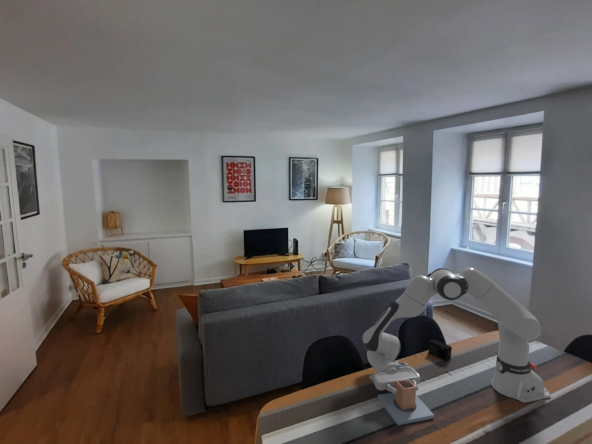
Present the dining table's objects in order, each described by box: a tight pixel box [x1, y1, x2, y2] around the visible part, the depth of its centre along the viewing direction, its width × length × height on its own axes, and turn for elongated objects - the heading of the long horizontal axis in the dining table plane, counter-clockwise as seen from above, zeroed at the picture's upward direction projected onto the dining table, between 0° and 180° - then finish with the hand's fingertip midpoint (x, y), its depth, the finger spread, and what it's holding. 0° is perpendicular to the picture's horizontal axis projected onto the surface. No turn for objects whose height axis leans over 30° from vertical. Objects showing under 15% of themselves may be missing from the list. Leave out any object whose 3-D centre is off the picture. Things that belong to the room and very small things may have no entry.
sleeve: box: [395, 379, 417, 410], centre depth 135 cm, size 6×6×9 cm
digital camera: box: [427, 338, 452, 362], centre depth 174 cm, size 10×5×7 cm, turn 37°
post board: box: [377, 380, 435, 426], centre depth 135 cm, size 16×16×12 cm
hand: (406, 390), depth 134 cm, fingers open, 8 cm apart
